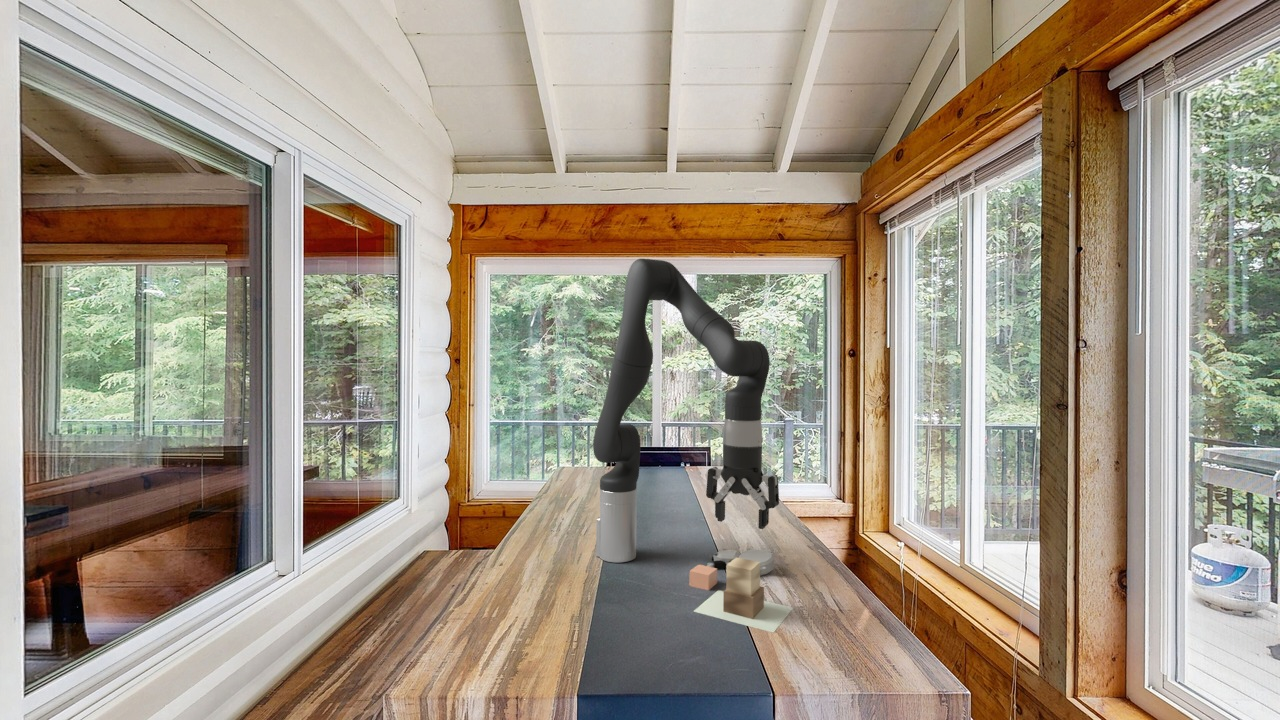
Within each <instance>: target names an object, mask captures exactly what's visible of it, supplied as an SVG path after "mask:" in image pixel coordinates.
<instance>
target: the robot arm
mask: <svg viewBox="0 0 1280 720" xmlns="http://www.w3.org/2000/svg"><path fill="white" fill-rule="evenodd" d="M624 288H625V289H624V296H623V297H624V299H623V305H622V306H623V307H622V313H621V314H622V315H621V322H620V325H619V326H620V327H619V333H618V336H617V337H618V338H617V343H616V347H615V351H614V354H613V360H612V365H611V368H610V375H609V381H608V385H607V389H606V394H605V398H604V401H603V406H602V409H601V412H600V415H599V419H598V421H597V424H596V427H595V431H594V436H593V441H592V449H593V454H594V457H595V459H596V460H597V461H599V462H600V463H603V464H607V463H609V464H610V463H615V465H614V467H613V468H612V469H611V470H609V471H608V472H606V473H604V474H603V475H602V476H600V478H599V517H597V518H596V522H595V523H596V529H595V530H596V533H595V535H596V536H595V537H596V539H595V540H596V544H595V545H596V548H595V549H596V550H595V556H596V557H598V558H600V559H601V560H603V561H604V562H608V563H627V562H630V561H633V560H635V559H636V558H637V489H638V488H637V485H638V484H637V483H638V480H639V476H640V464H641V463H640V460H641V436H640V434H639V433H640V432H639V430H638V429H637V427H636V426H635V425H634V424H630V423H621V422H622V420H623V417H624V415H625V413H626V411H627V410H628V408H629V407H630V406H631V405H632V404H633V402H634V401H635V400H636V399H637V397H638V396H639V395H640V394H641V392H642V391H643V390H644V389H645V387H646V385H647V383H648V380H649V377H650V373H651V370H652V369H651V368H652V364H653V358H654V351H653V347H652V344H651V341H650V340H651V339H650V337H649V334H648V331H647V330H648V329H647V327H646V316H647V311H648V306H649V303H650V301H665V302H667V303H668V304H670V305H671V306H673V307H675V308H676V309H677V310H678V311H679V313H680V314H681V315H680V316H681V319H682V322H683V324H684V325H683V326H684V327H685V329H686V331H688V333H689V334H690V335H691V336H692V337H693V338H694V339H696V340H697V341H698V342H699V343H700V344H701V345H702V346H703V347H704V348H706V350H707V352H708V354H709V355H710V357H711V359H712V360H713V362H714V363H715V365H716V366H717V368H718V369H719V370H720V371H721V372H723V373H724V374H726V375H728V376H730V377H738V380H737V382H736V386H735V387H733V388H730V389H729V390H728V391H727V392H726V393H725V397H724V398H725V399H724V424H723V440H722V441H723V442H722V453H723V454H722V465H723V466H722V469H719V468H718V467H717V466H713V467H711V468H708V470H707V475H706V476H707V478H706V491H705V495H706V498H707V499H711V500H713V501H714V509H715V510H714V516H715V519H717V521H718V522H723V521H725V519H726V501H725V499H726V497H727V496H728V495H729V494H730V493H731V492H732V494H734V495H737V494H740V495H743V496H749V495H750V496H751V498H752V500H753V501H754V502H756V504H757V506H758V508H760V509H758V530H759V529H760V530H763V529H765V528H766V527H767V526H768V525H769V522H770V521H769V520H770V519H769V516H770V509H774V508H776V507H778V506H779V505H780V496H779V495H780V494H779V493H780V492H779V491H780V490H779V476H778V475H777V474H772V475H770V474H769V475H767V474H763V471H762V470H763V469H762V466H763V443H764V440H763V438H764V437H763V426H762V425H763V424H762V397H763V394H764V390H765V388H766V384H767V383H766V382H767V379H768V375H769V370H770V364H771V363H770V361H771V360H770V355H769V351H768V349H767V348H766V346H765V345H764V344H763V343H762V342H761V341H758V340H745V339H743V340H741V339H740V340H739V339H738V338H736V337H735V335H736V334H735V329H734V326H733V325H732V324H731V323H730V322H729V321H728V320H727V319H725V317H723V316H722V315H721V314H720V313H719V312H717V311H716V310H715V309H714V308H712V307H711V305H709V304H708V303H707V302H706V301H705V300H704V299H703V298H702V297H701V296H700V295H699V293H697V291H696V290H695V289H694V288H693V287H692V286H691V284H690V283H689V282H688V281H687V280H686V278H685V277H684V276H683V274H682V273H681V271H679V270H678V268H677V267H676V266H675V265H674V264H673V263H671V262H669V261H665V260H660V259H651V258H637V259H636V260H634V261H633V263H631V264H630V267H629V269H628V272H627V276H626V280H625V287H624ZM720 478H722V480H723V482H724V483H725V484H724V485H723V486H722V487H721V489H720V490H719V492H718V490H717V489H718V480H719V479H720ZM763 482H764V484H765V486H766V487H767V493H768V498H767V497H766V494H765V492H764V490H763V488H762V487H761V484H762V483H763Z"/></svg>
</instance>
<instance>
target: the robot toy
mask: <svg viewBox="0 0 1280 720" xmlns="http://www.w3.org/2000/svg"><path fill="white" fill-rule="evenodd" d="M776 552H777V550H771V551H770V550H767V549H755V548H754V549H748V550H745V551H744V552H742V553H740V552H739V551H738V550H731V549H723V550H719V551H717V552H715V553H714V554H712V556H711V561H712V562H708V563H707V564H706V566H708V567H712V568H717V570H723V569H725V568H726V565H727V564H728V563H730V562H731V561H732V560H734V559H735V558H736V557H737V558H742V559H747V560H752V561H757V562H760V577H761V576H765V575H767V574H769V573H770V572H771V571H773V570H774V569H775V566H776V565H775V564H776V562H775V555H774V553H776Z"/></svg>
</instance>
